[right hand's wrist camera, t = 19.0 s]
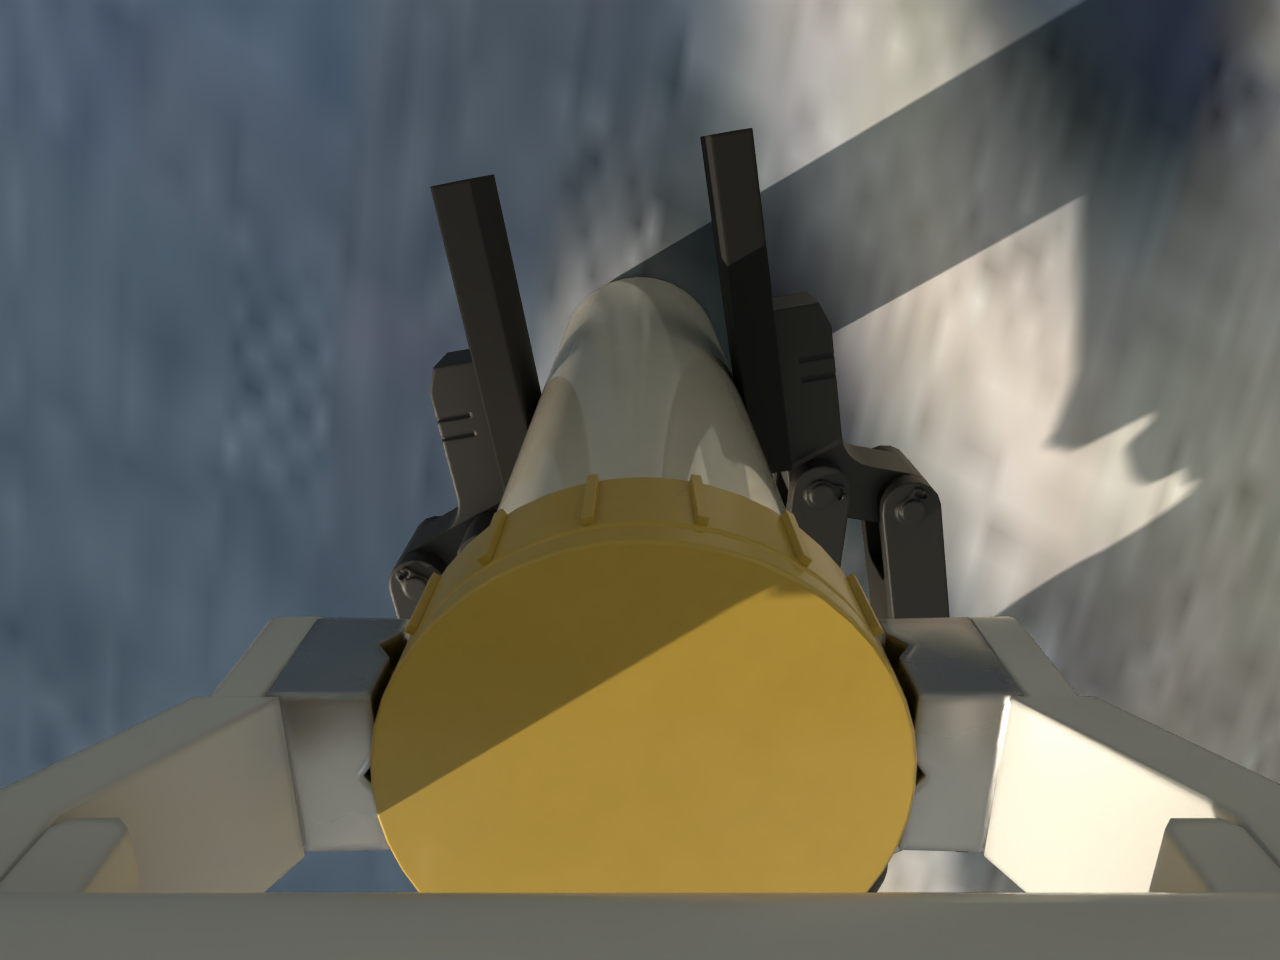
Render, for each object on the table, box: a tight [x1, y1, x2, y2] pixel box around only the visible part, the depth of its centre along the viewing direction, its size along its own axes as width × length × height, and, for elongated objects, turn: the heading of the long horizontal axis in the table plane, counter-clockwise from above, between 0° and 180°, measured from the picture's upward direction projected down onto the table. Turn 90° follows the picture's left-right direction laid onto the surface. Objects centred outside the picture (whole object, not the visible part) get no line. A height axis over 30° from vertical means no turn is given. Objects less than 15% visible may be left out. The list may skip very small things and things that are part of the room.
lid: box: [370, 474, 917, 893], centre depth 9 cm, size 5×5×2 cm
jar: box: [497, 277, 786, 515], centre depth 17 cm, size 4×4×17 cm
